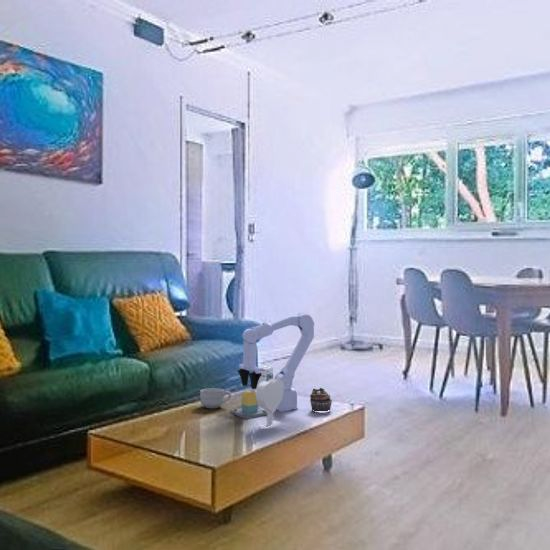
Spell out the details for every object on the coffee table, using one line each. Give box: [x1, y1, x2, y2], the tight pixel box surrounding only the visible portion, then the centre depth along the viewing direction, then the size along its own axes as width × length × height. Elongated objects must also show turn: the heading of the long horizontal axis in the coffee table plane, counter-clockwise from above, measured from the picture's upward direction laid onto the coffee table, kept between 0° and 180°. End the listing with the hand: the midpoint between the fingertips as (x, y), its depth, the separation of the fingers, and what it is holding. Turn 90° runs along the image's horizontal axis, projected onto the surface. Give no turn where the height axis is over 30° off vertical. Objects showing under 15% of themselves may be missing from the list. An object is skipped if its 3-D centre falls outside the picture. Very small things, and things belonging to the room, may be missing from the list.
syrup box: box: [257, 365, 274, 386], centre depth 298 cm, size 6×6×14 cm
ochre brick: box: [241, 390, 259, 406], centre depth 266 cm, size 5×5×5 cm
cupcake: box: [309, 387, 333, 411], centre depth 272 cm, size 10×10×10 cm
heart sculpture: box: [255, 378, 284, 427], centre depth 250 cm, size 16×5×18 cm, turn 148°
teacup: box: [199, 387, 232, 409], centre depth 277 cm, size 14×11×8 cm
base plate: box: [230, 403, 267, 420], centre depth 267 cm, size 12×12×5 cm
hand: (249, 387), depth 272 cm, fingers open, 7 cm apart
